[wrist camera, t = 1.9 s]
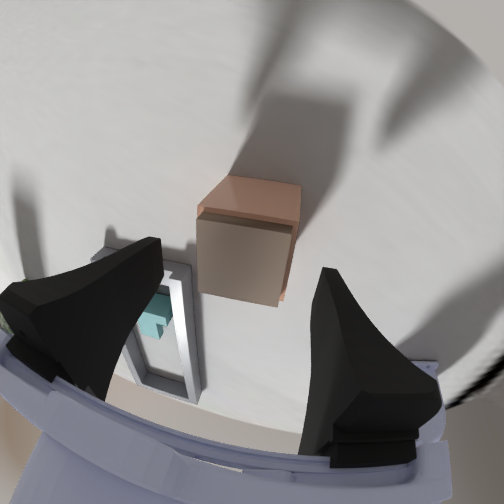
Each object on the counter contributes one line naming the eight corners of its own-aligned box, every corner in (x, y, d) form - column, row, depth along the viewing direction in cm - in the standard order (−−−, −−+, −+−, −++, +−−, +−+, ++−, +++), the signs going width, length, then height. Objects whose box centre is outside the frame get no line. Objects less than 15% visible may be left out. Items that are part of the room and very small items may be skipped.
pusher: (176, 298, 22) (165, 317, 20) (181, 336, 25) (172, 354, 23) (120, 283, 23) (106, 300, 21) (130, 321, 25) (120, 337, 23)
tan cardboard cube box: (301, 185, 16) (299, 230, 11) (290, 249, 18) (281, 312, 13) (227, 174, 16) (190, 212, 11) (224, 238, 19) (193, 294, 13)
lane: (191, 265, 20) (181, 281, 18) (201, 392, 31) (197, 404, 29) (103, 246, 21) (90, 259, 19) (142, 373, 32) (136, 384, 30)
